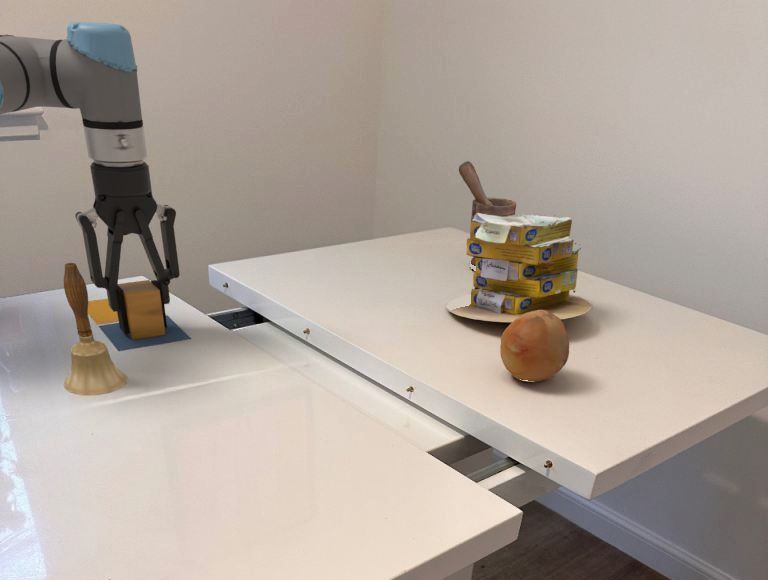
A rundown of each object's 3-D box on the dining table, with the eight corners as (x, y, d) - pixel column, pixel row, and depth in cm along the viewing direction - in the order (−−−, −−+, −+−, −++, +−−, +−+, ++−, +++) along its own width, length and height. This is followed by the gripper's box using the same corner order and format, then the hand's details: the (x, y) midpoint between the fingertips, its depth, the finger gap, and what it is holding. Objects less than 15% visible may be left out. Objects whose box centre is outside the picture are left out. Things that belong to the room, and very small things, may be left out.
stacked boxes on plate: (419, 301, 130) (427, 203, 120) (526, 285, 140) (541, 194, 131) (503, 352, 113) (520, 242, 103) (617, 329, 123) (642, 228, 114)
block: (123, 329, 111) (115, 284, 107) (155, 324, 113) (148, 279, 109) (133, 340, 108) (125, 294, 103) (165, 335, 110) (159, 289, 106)
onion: (503, 359, 110) (513, 295, 104) (568, 372, 107) (582, 307, 101) (487, 384, 102) (497, 316, 97) (556, 398, 100) (571, 329, 94)
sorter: (79, 305, 120) (79, 302, 119) (145, 296, 125) (144, 293, 124) (119, 354, 104) (118, 351, 104) (191, 341, 110) (191, 338, 109)
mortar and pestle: (461, 277, 143) (473, 167, 131) (445, 264, 149) (455, 158, 138) (513, 274, 146) (530, 167, 134) (495, 261, 153) (509, 158, 141)
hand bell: (66, 402, 91) (37, 277, 82) (60, 376, 98) (33, 257, 88) (133, 393, 94) (113, 271, 85) (124, 368, 101) (104, 252, 91)
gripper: (54, 170, 90) (89, 346, 103) (193, 163, 98) (208, 326, 112) (41, 159, 95) (76, 328, 108) (174, 153, 103) (191, 311, 117)
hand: (143, 327), depth 110 cm, fingers closed on block, 5 cm apart
